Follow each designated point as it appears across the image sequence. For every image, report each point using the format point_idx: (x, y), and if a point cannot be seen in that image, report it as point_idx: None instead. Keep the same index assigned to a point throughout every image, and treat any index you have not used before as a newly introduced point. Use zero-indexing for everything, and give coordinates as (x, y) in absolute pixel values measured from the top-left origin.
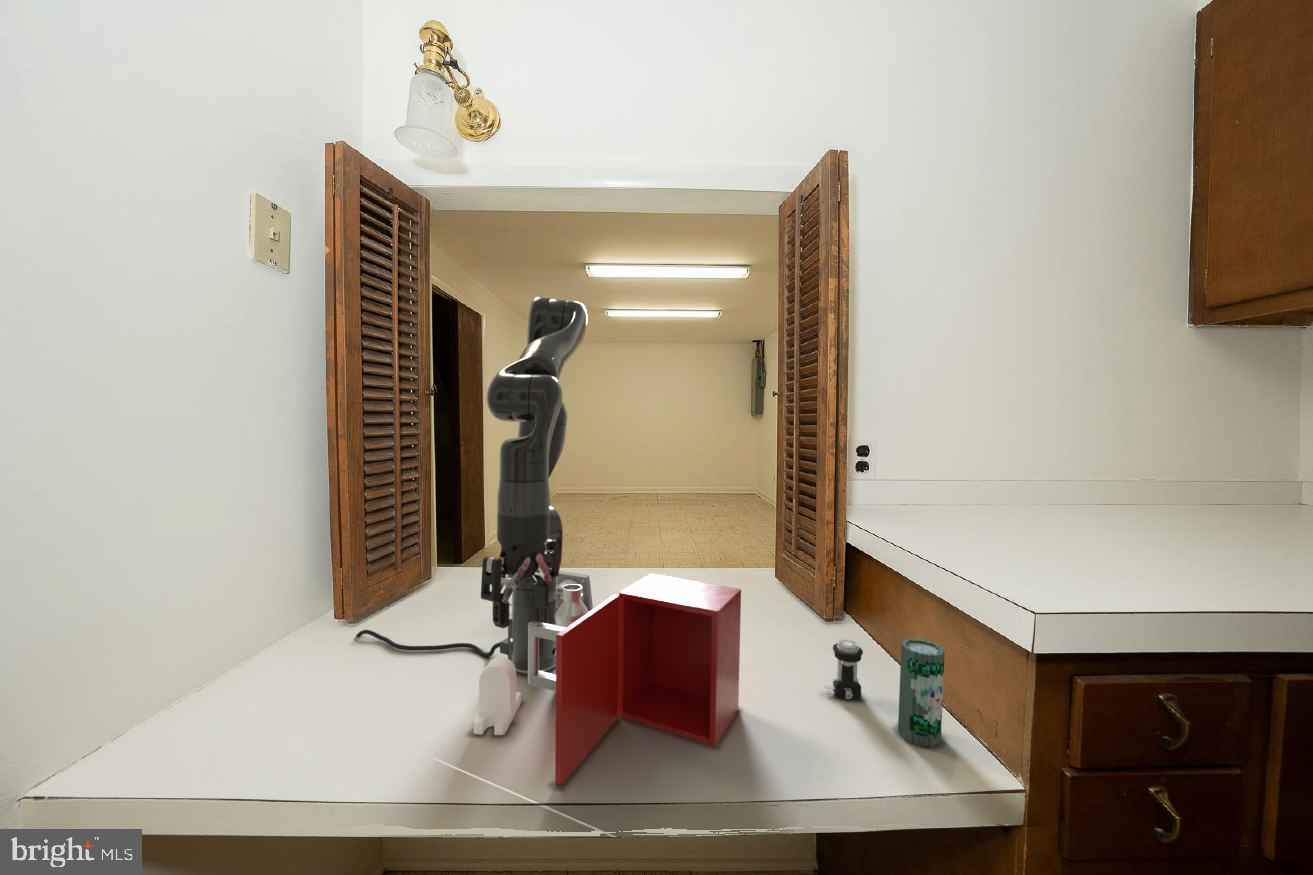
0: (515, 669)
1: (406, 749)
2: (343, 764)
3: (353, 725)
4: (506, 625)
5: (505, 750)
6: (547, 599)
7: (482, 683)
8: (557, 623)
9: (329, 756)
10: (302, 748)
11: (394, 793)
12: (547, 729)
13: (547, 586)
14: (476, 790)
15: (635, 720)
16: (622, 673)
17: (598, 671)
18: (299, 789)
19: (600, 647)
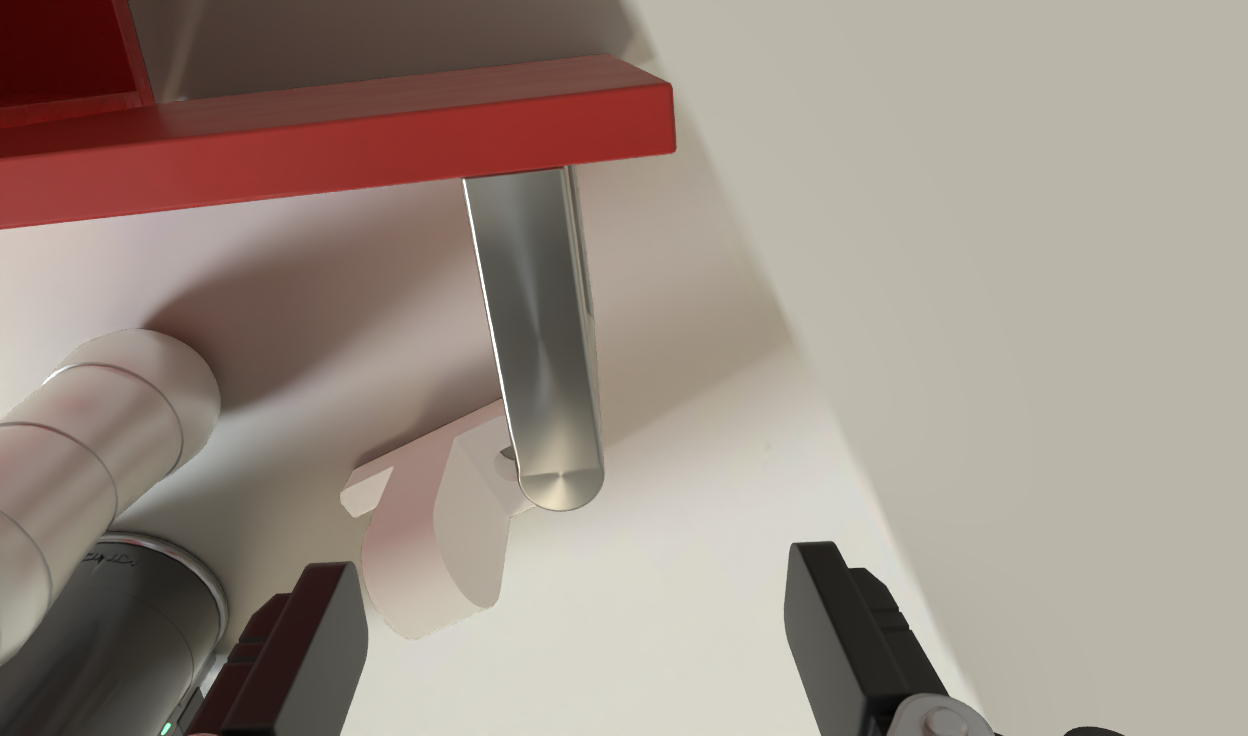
0: (365, 542)
1: (703, 557)
2: None
3: (698, 723)
4: (825, 545)
5: None
6: (289, 608)
7: (494, 575)
8: (47, 597)
9: None
10: (811, 728)
11: (840, 447)
12: (403, 298)
13: (238, 716)
14: (742, 279)
15: (130, 19)
16: (20, 110)
17: (225, 106)
18: (912, 618)
19: (127, 122)
